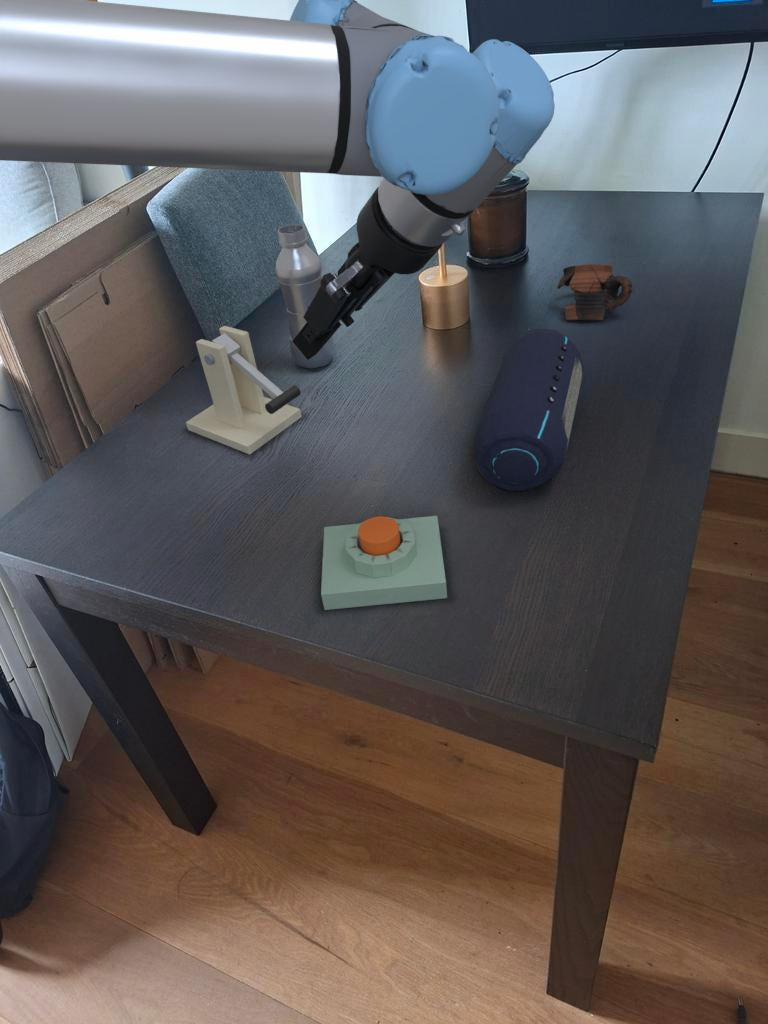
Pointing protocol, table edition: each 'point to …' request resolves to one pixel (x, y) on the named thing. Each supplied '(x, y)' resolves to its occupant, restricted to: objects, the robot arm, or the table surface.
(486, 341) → the table surface
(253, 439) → the bracket
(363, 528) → the button
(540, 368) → the portable speaker
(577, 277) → the pottery mug
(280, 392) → the lever
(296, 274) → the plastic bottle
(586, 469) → the table surface
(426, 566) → the button block
